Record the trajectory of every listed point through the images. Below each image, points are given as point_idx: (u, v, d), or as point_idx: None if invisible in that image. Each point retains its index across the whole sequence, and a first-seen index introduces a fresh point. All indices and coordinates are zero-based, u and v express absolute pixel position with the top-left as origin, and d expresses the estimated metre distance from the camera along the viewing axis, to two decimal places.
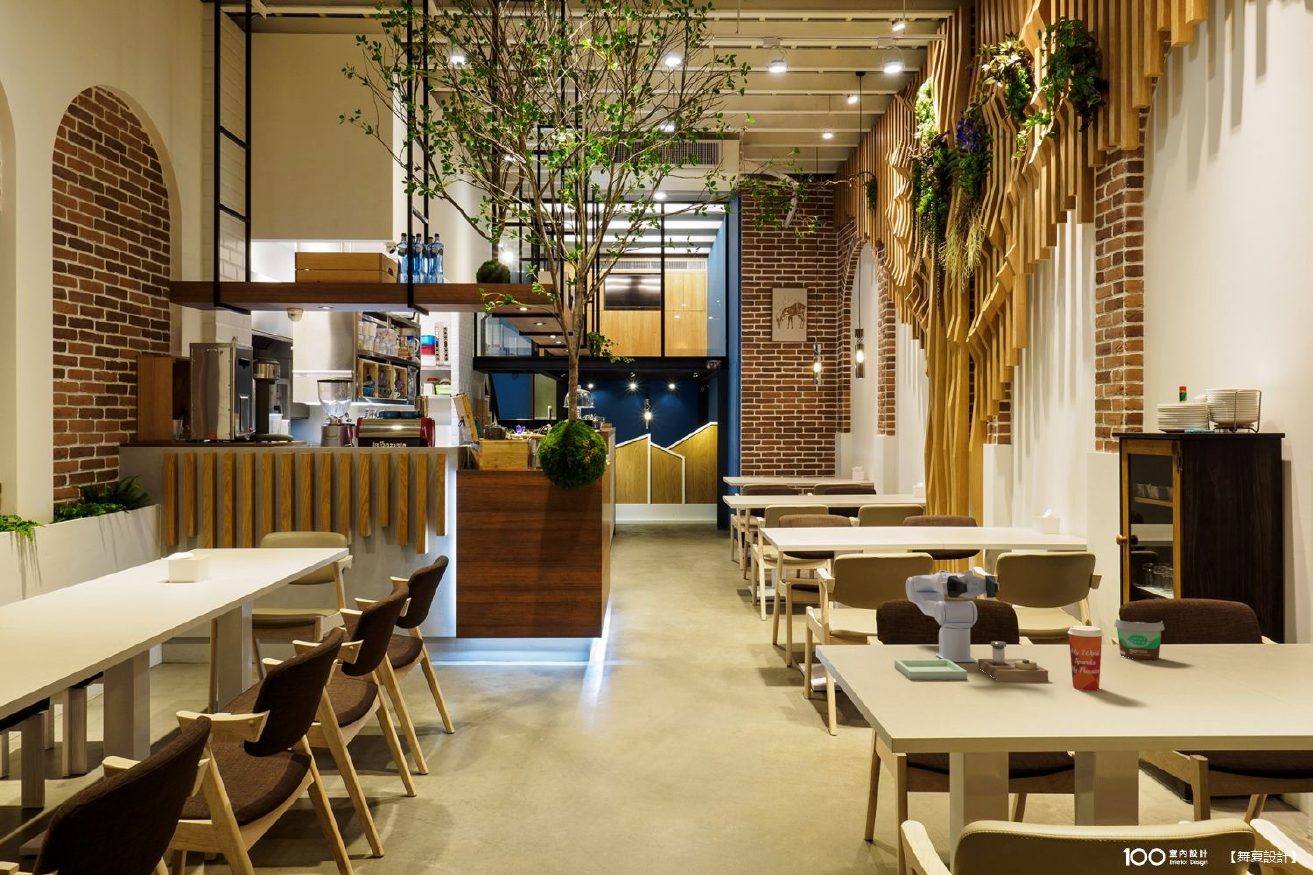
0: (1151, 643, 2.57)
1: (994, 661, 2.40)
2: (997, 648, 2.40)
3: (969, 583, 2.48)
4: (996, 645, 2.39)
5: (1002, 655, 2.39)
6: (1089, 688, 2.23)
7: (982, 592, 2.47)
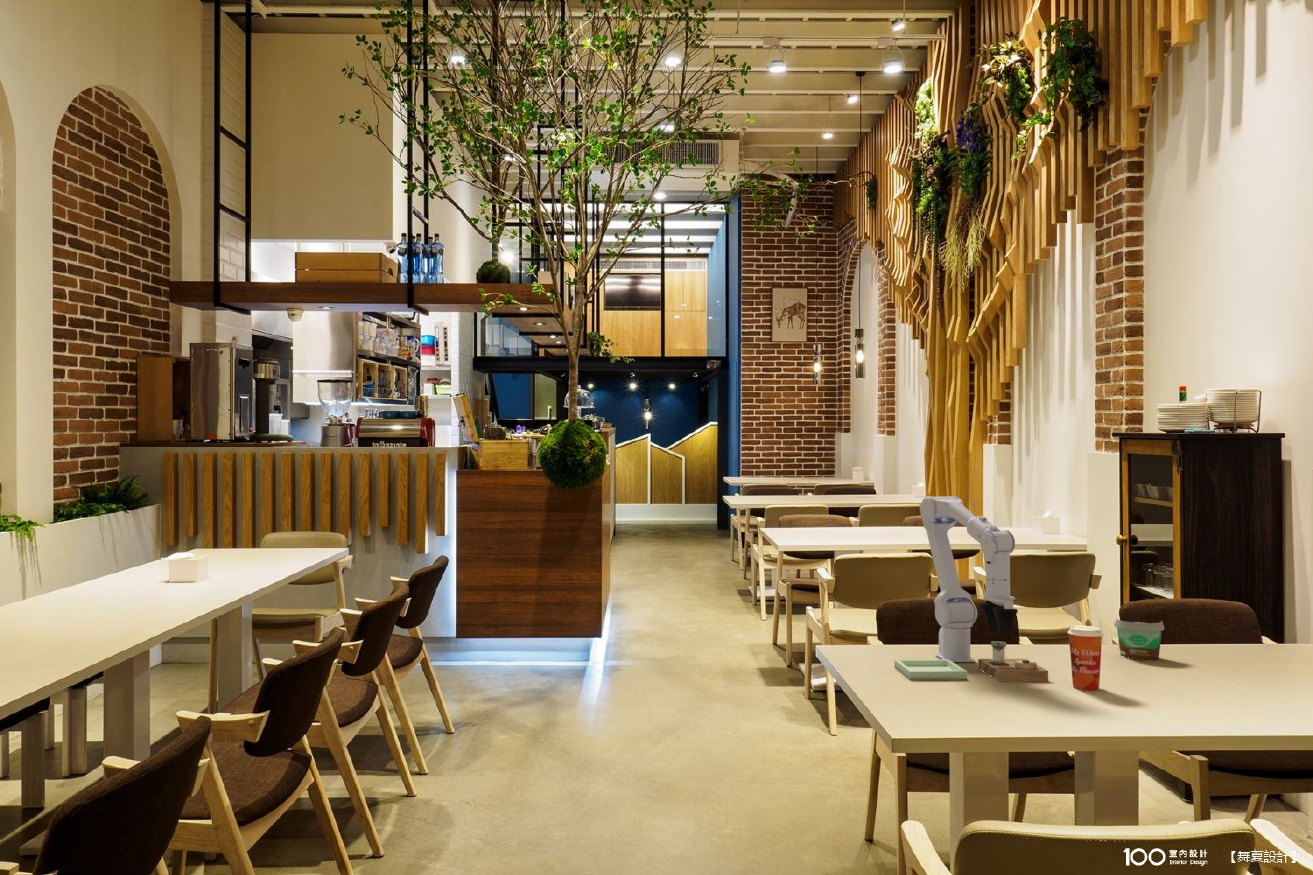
0: (1151, 643, 2.57)
1: (994, 661, 2.40)
2: (997, 648, 2.40)
3: None
4: (996, 645, 2.39)
5: (1002, 655, 2.39)
6: (1089, 688, 2.23)
7: None
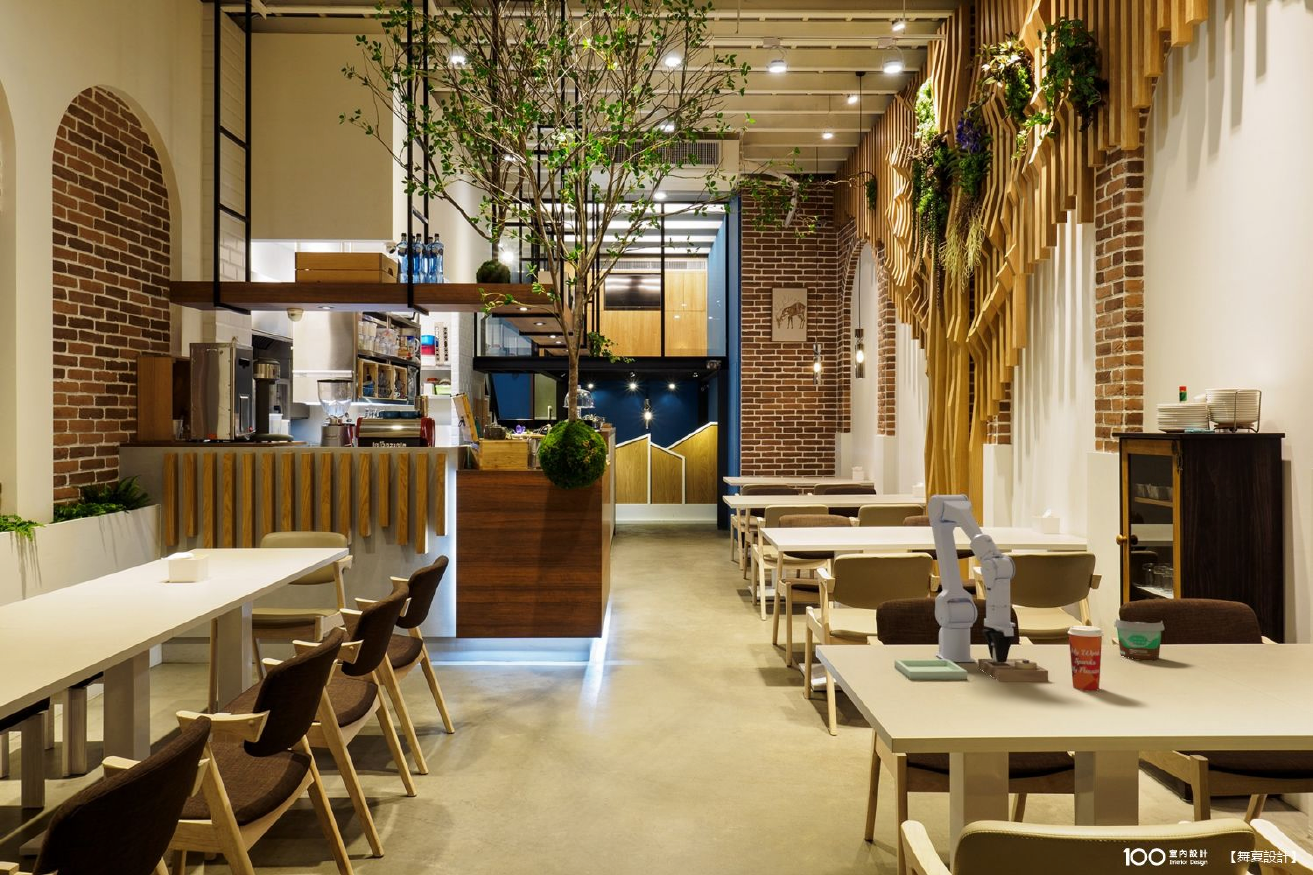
0: (1151, 643, 2.57)
1: (994, 661, 2.40)
2: None
3: None
4: None
5: None
6: (1089, 688, 2.23)
7: None
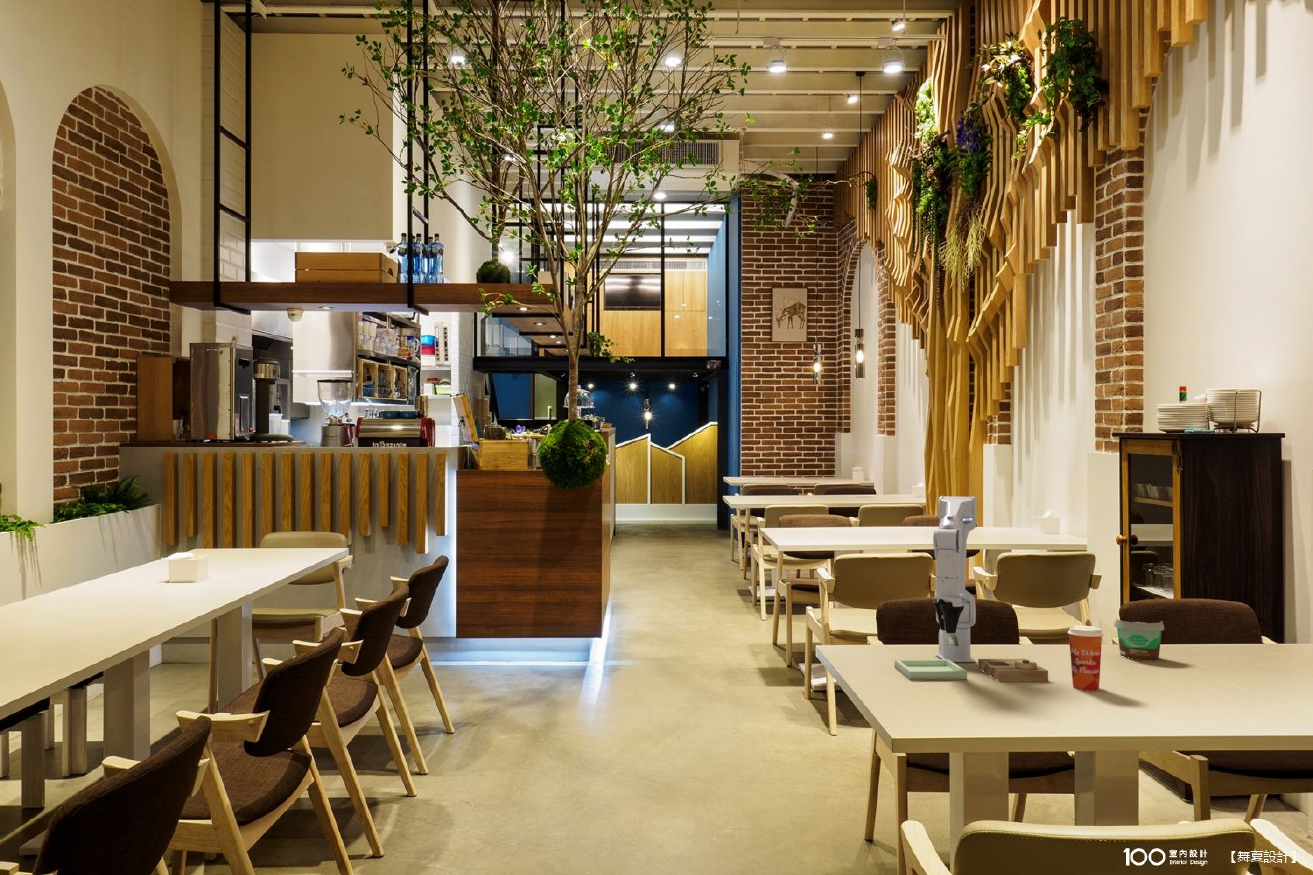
0: (1151, 643, 2.57)
1: (947, 633, 2.41)
2: None
3: None
4: None
5: None
6: (1089, 688, 2.23)
7: None
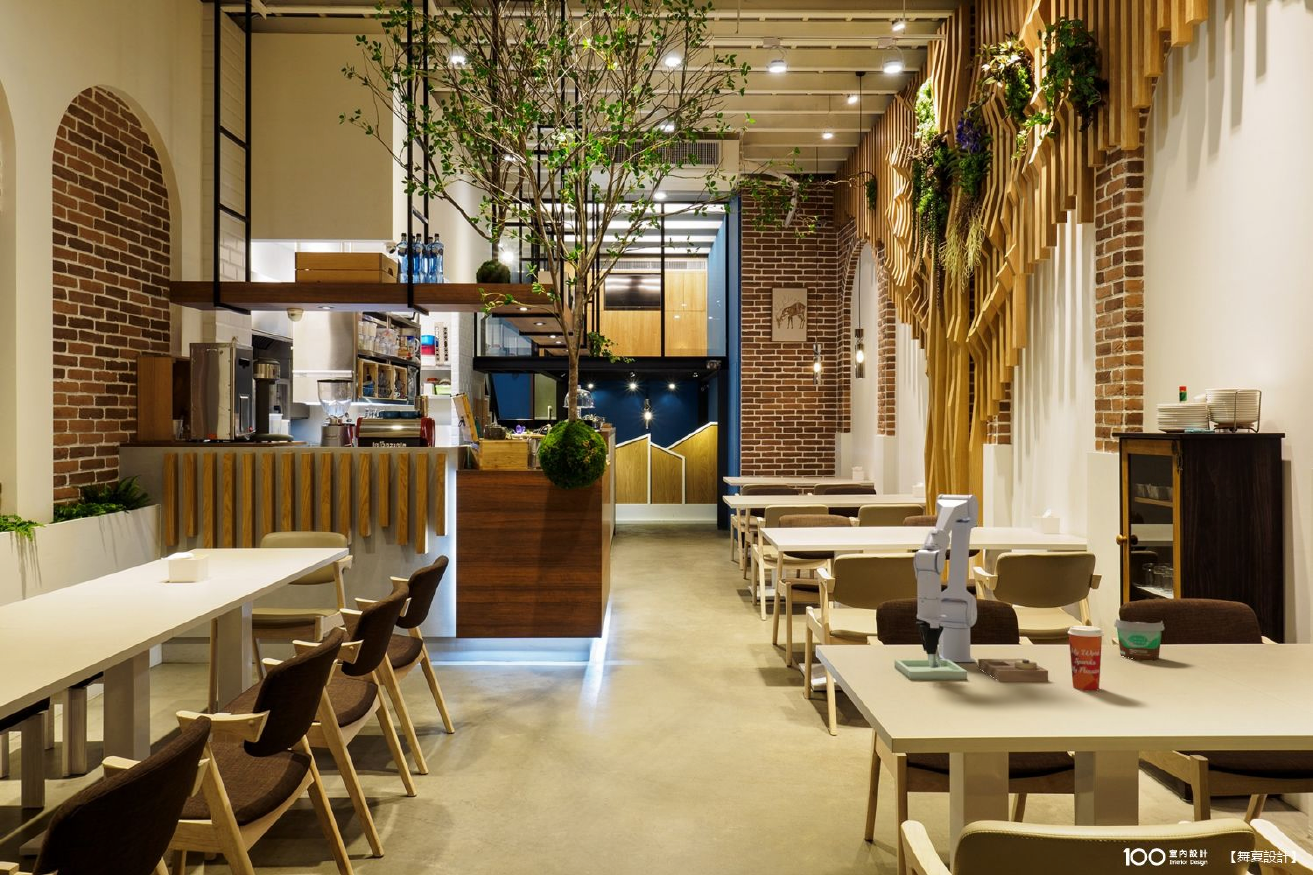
0: (1151, 643, 2.57)
1: (928, 654, 2.41)
2: None
3: None
4: None
5: None
6: (1089, 688, 2.23)
7: None
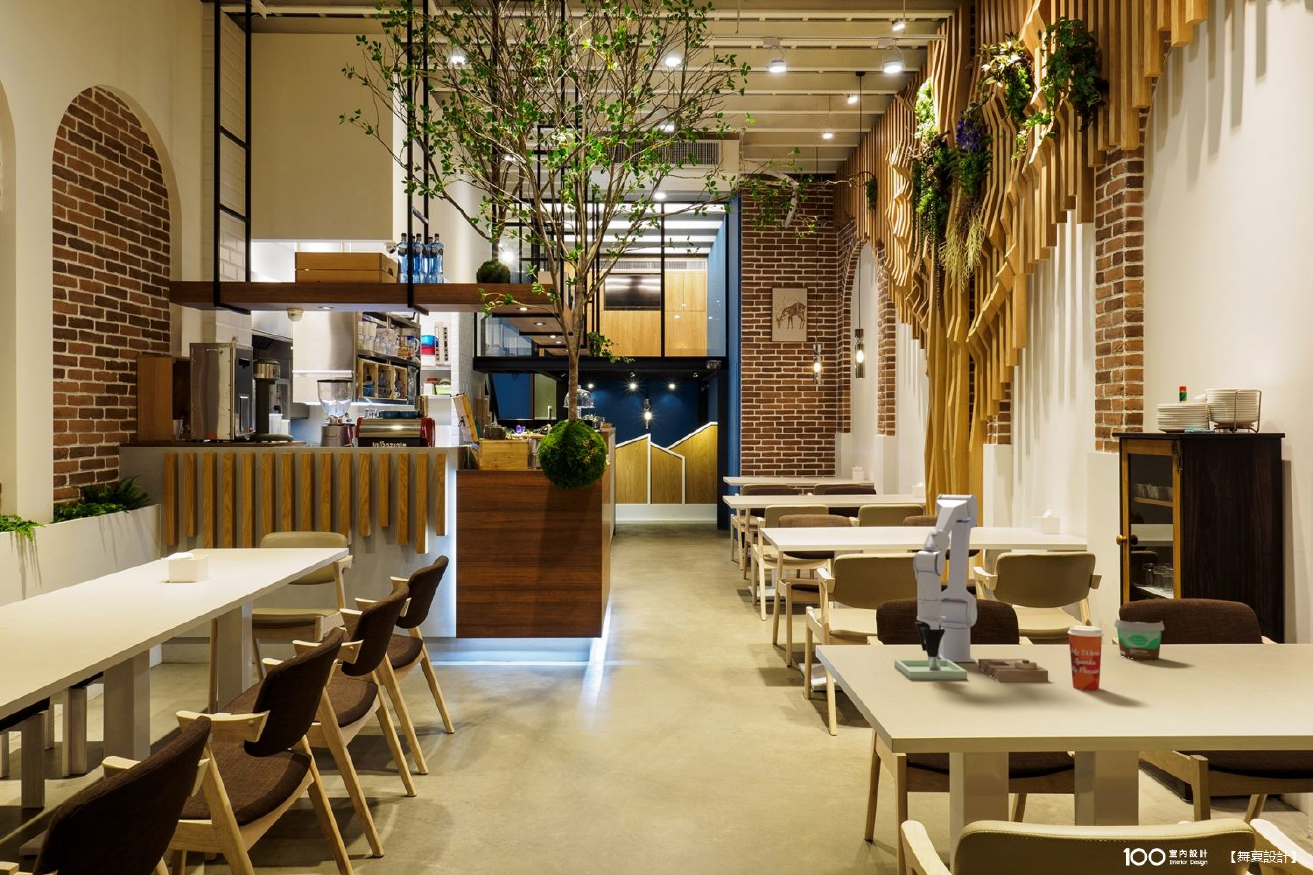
0: (1151, 643, 2.57)
1: (929, 658, 2.41)
2: None
3: None
4: None
5: None
6: (1089, 688, 2.23)
7: None
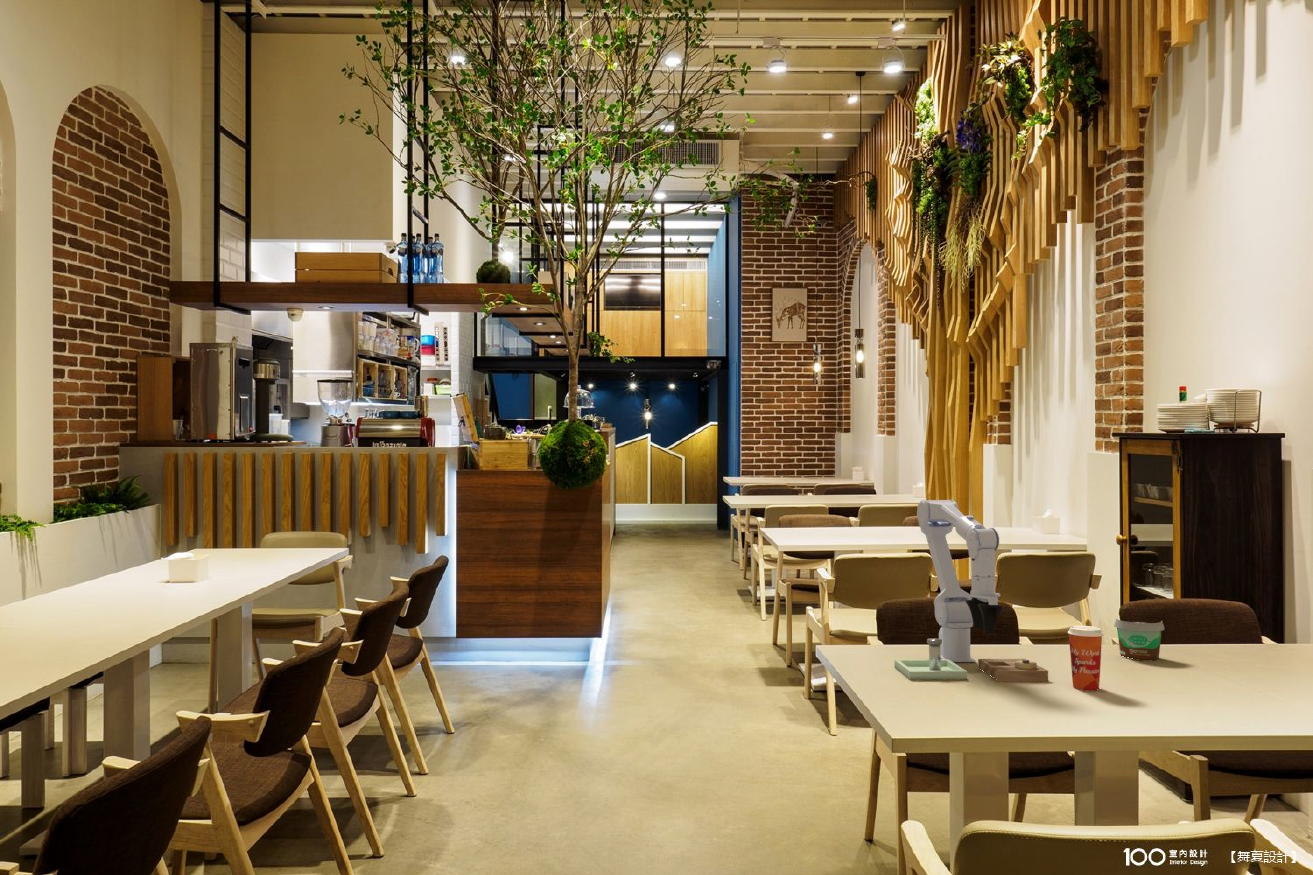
0: (1151, 643, 2.57)
1: (930, 658, 2.41)
2: (932, 645, 2.40)
3: None
4: (931, 642, 2.40)
5: (937, 652, 2.40)
6: (1089, 688, 2.23)
7: None
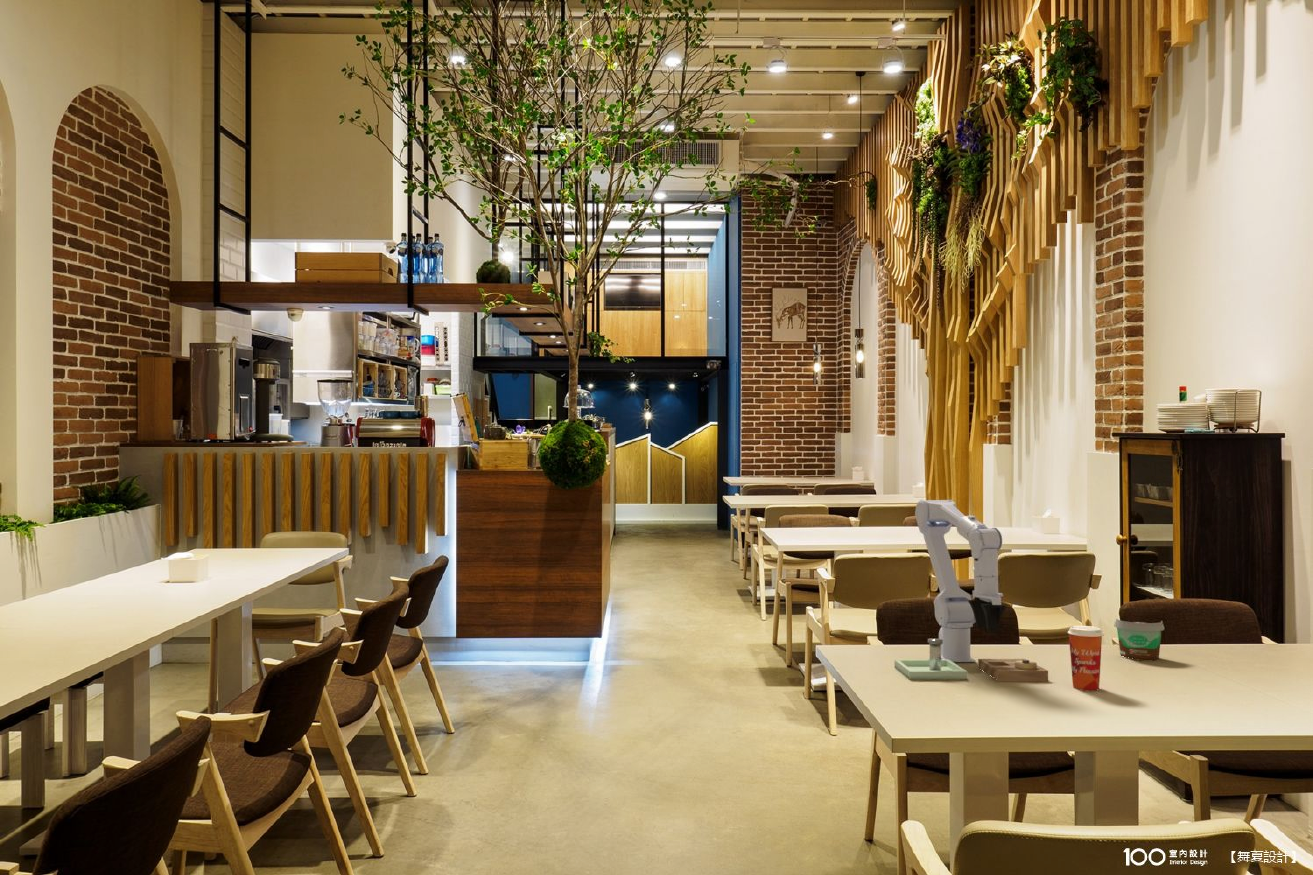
0: (1151, 643, 2.57)
1: (930, 658, 2.41)
2: (933, 645, 2.40)
3: None
4: (932, 642, 2.40)
5: (938, 652, 2.40)
6: (1089, 688, 2.23)
7: None
